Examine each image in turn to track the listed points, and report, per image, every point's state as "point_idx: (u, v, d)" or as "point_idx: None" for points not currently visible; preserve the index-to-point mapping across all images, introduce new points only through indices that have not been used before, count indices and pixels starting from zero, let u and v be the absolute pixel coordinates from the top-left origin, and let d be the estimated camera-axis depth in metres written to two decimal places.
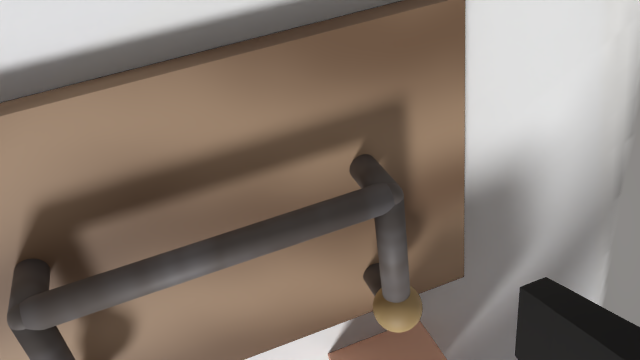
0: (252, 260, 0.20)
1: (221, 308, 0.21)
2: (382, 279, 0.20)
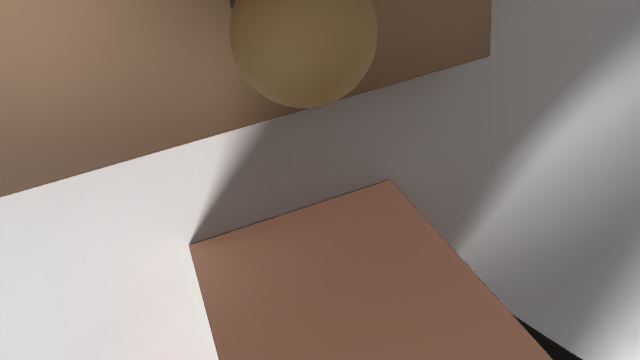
0: None
1: None
2: None
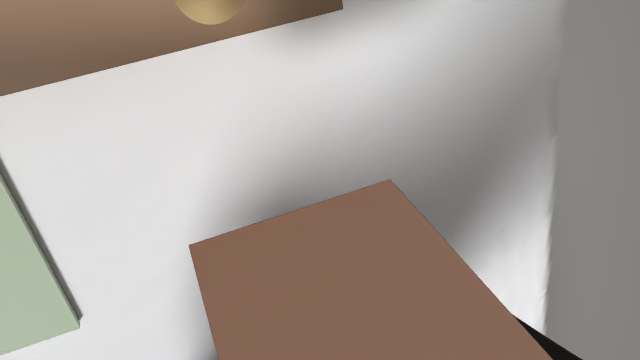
0: None
1: None
2: None
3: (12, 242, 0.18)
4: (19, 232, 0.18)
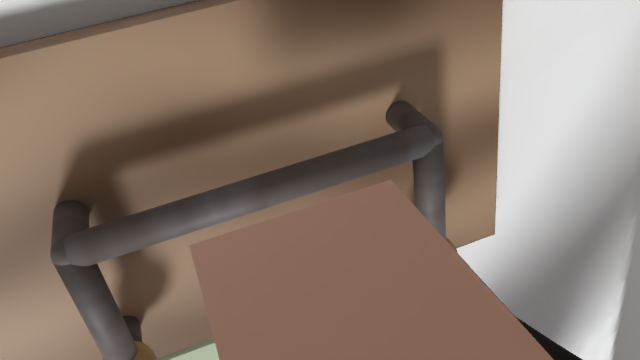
0: (287, 209, 0.20)
1: None
2: None
3: None
4: None
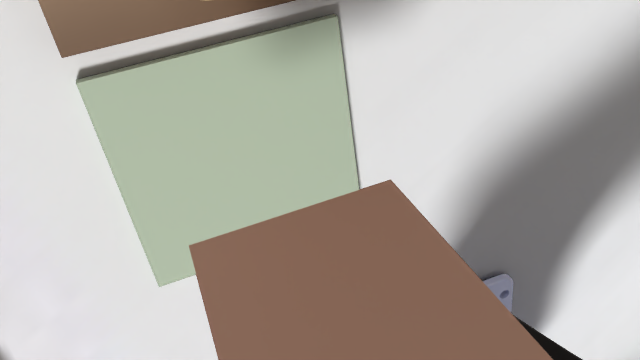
0: None
1: None
2: None
3: (336, 127, 0.20)
4: (343, 118, 0.20)
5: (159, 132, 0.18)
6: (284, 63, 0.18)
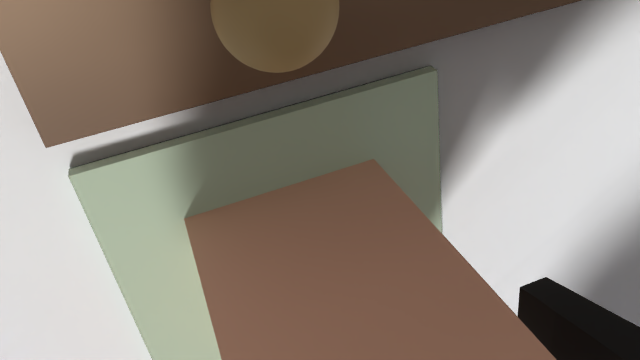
0: None
1: None
2: None
3: None
4: (432, 201, 0.15)
5: (186, 235, 0.13)
6: (360, 136, 0.13)
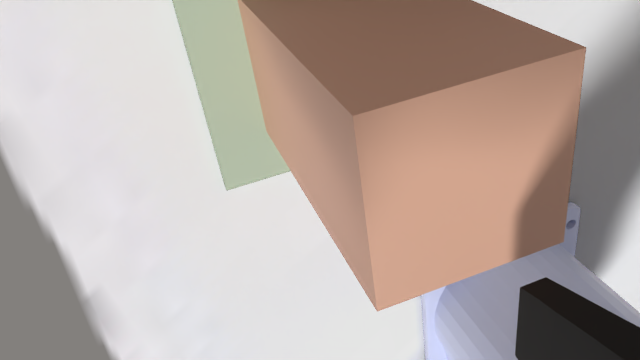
0: None
1: None
2: None
3: None
4: None
5: (237, 10, 0.17)
6: None
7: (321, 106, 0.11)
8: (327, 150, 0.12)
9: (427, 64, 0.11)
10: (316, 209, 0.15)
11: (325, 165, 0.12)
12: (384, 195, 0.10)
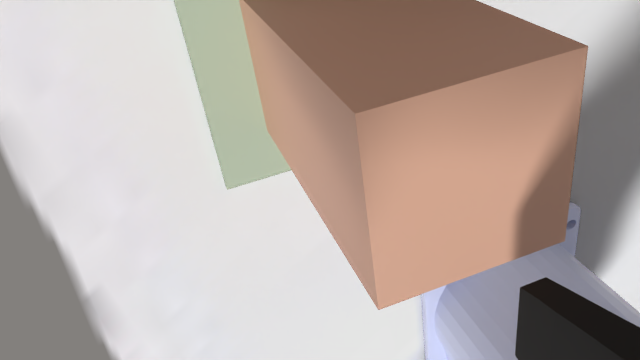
0: None
1: None
2: None
3: None
4: None
5: (238, 9, 0.17)
6: None
7: (323, 104, 0.11)
8: (329, 148, 0.12)
9: (429, 62, 0.11)
10: (317, 208, 0.15)
11: (326, 164, 0.12)
12: (386, 193, 0.10)
